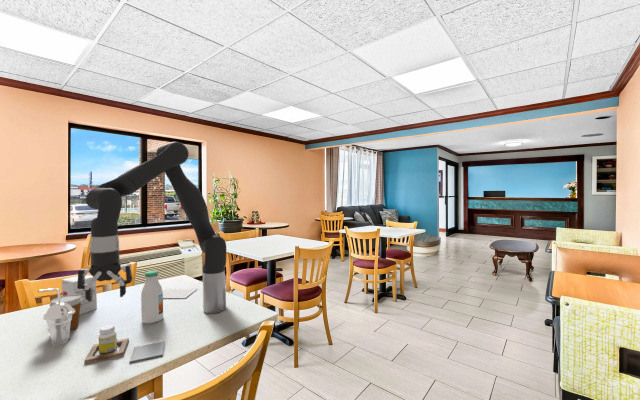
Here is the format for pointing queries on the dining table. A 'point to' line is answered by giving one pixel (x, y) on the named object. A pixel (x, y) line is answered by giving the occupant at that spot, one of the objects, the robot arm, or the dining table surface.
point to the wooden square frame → (120, 353)
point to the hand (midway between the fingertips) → (106, 298)
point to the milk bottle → (152, 299)
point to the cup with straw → (59, 320)
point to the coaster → (147, 352)
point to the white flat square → (177, 293)
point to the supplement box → (80, 292)
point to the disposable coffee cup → (75, 303)
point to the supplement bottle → (107, 339)
